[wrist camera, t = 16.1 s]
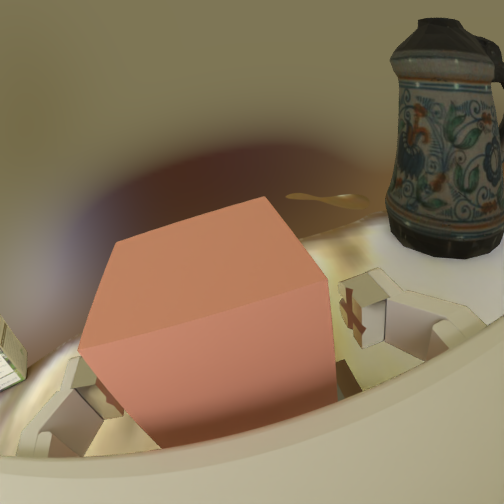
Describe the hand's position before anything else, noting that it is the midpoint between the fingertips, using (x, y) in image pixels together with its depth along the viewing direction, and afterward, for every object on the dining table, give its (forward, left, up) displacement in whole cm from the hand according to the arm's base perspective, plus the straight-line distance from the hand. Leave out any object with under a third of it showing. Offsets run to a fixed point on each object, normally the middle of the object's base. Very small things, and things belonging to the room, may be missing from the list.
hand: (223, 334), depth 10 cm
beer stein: (-29, -20, -13) cm, 37 cm away
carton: (0, +1, -8) cm, 9 cm away
